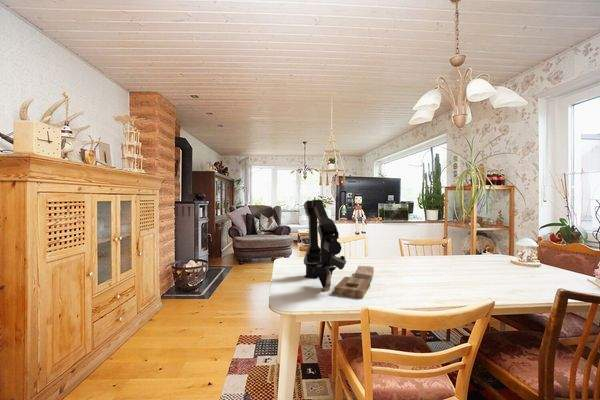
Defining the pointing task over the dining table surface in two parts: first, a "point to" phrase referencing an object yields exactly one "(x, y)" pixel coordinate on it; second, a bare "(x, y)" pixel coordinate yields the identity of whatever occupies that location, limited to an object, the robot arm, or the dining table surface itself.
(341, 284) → the seat board
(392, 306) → the dining table surface
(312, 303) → the dining table surface
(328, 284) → the peg
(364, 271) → the brick
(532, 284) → the dining table surface
